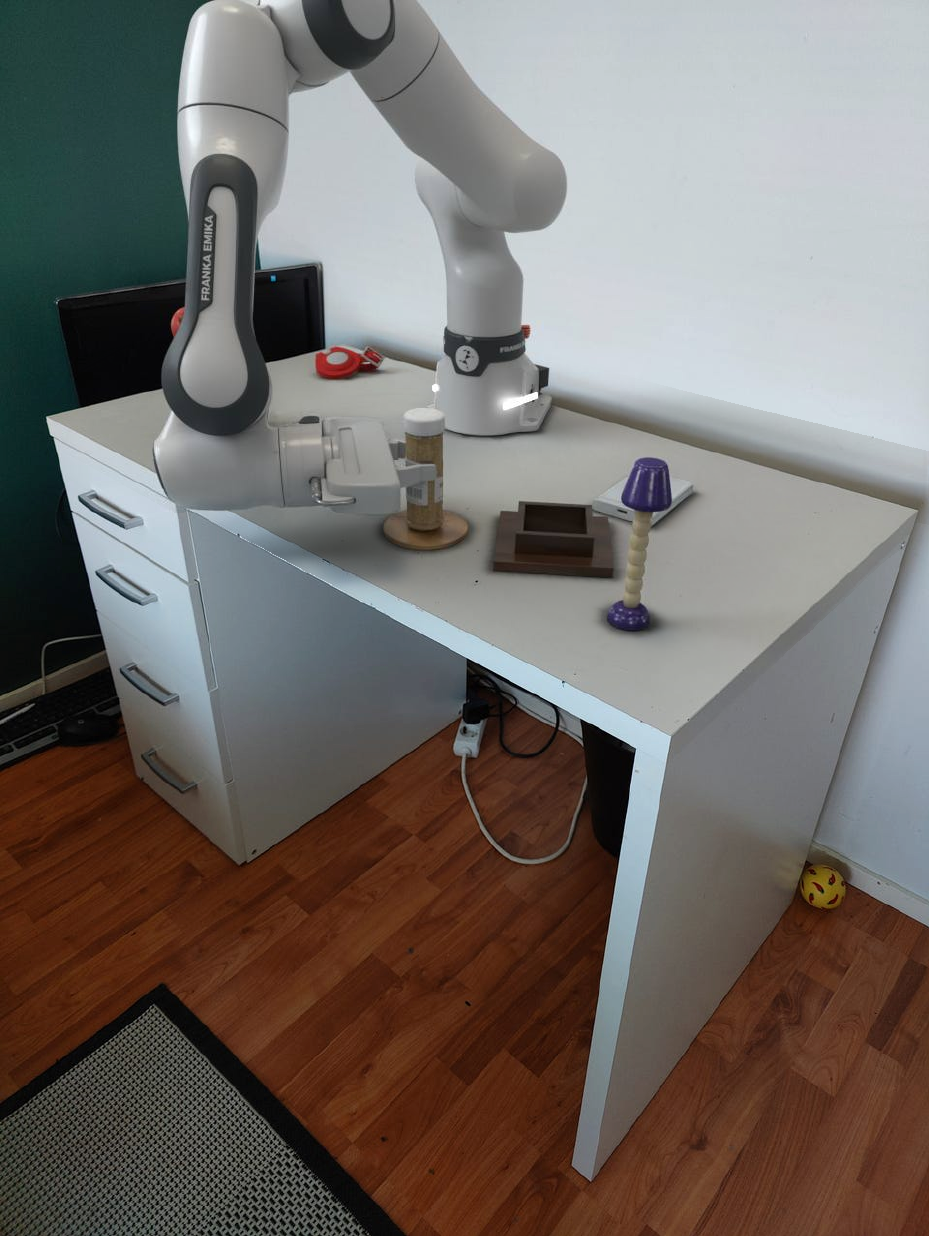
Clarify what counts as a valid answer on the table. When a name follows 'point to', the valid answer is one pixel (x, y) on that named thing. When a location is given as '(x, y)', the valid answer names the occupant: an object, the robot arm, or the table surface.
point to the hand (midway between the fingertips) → (432, 460)
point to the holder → (554, 540)
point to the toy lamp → (640, 536)
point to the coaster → (426, 532)
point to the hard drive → (615, 507)
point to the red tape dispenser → (346, 362)
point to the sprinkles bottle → (425, 446)
